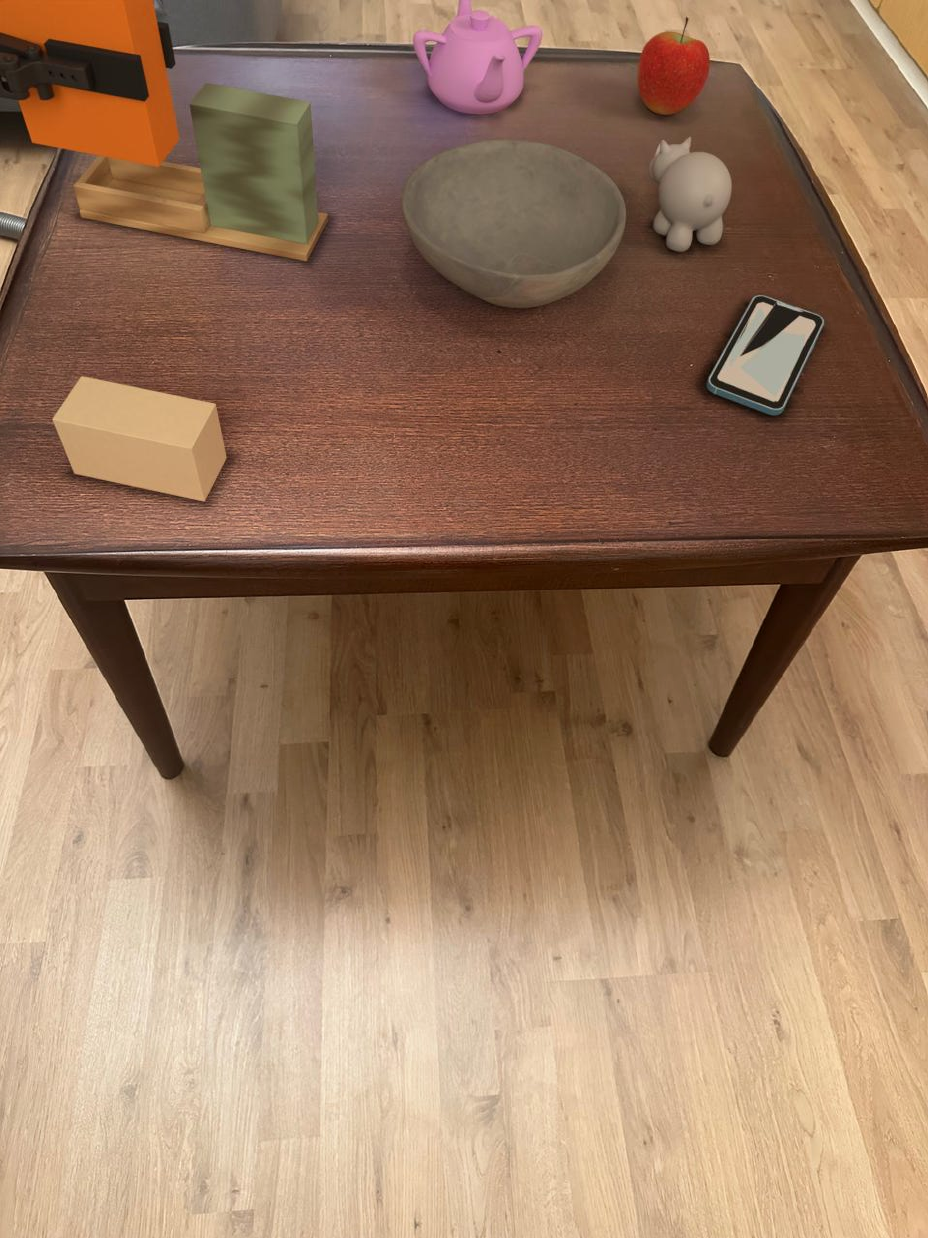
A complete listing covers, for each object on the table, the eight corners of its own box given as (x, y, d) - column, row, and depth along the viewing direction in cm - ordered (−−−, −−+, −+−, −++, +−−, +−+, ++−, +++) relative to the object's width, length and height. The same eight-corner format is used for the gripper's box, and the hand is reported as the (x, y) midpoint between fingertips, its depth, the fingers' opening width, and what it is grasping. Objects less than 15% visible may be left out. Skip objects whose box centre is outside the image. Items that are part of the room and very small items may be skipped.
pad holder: (81, 217, 94) (41, 86, 84) (111, 178, 98) (77, 49, 88) (306, 261, 93) (296, 133, 82) (328, 220, 97) (320, 93, 86)
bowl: (654, 304, 92) (675, 231, 86) (475, 371, 85) (482, 297, 79) (534, 192, 102) (544, 118, 95) (364, 244, 95) (362, 168, 88)
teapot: (458, 56, 118) (462, -23, 110) (551, 96, 114) (562, 16, 106) (399, 92, 112) (400, 11, 105) (495, 135, 108) (503, 54, 101)
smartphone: (704, 383, 85) (755, 291, 93) (701, 391, 86) (752, 299, 94) (782, 413, 84) (827, 317, 91) (778, 421, 84) (824, 325, 92)
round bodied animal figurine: (679, 186, 104) (700, 109, 97) (728, 251, 98) (754, 173, 91) (620, 194, 103) (637, 116, 96) (665, 260, 97) (687, 182, 90)
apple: (618, 112, 113) (635, 21, 104) (648, 85, 117) (668, -4, 108) (678, 135, 110) (701, 45, 102) (707, 107, 114) (731, 18, 106)
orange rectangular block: (31, 142, 70) (-28, -40, 60) (56, 115, 73) (3, -65, 63) (159, 167, 70) (120, -14, 60) (179, 139, 72) (145, -40, 62)
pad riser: (74, 473, 76) (51, 419, 71) (100, 431, 78) (81, 375, 73) (204, 502, 75) (191, 448, 70) (227, 457, 78) (215, 403, 73)
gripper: (-71, 9, 75) (210, 60, 73) (-202, 117, 65) (117, 179, 64) (-113, -104, 69) (193, -51, 67) (-265, -2, 59) (87, 63, 57)
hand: (155, 61), depth 65 cm, fingers closed on orange rectangular block, 4 cm apart
